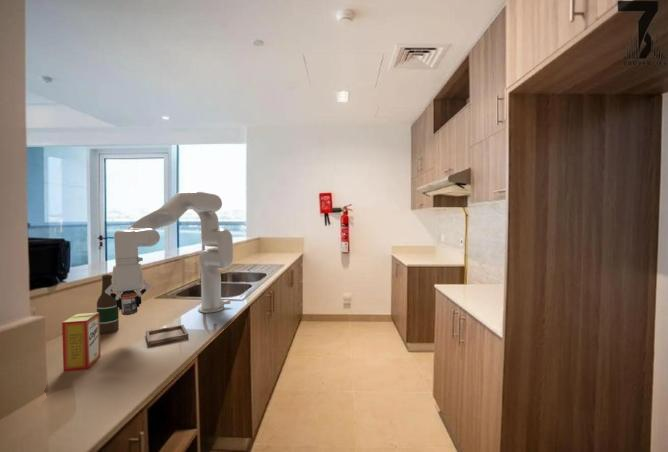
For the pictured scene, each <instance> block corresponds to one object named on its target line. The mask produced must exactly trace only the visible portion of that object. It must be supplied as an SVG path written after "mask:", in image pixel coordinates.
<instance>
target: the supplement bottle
mask: <svg viewBox="0 0 668 452" xmlns="http://www.w3.org/2000/svg"><path fill="white" fill-rule="evenodd" d="M120 298H121V311H120V312H121V315H122V316H131V315H135V314H136V313H138V311H139V310H138V307H137V292H136V290H133V291H125V292H121V294H120Z"/></svg>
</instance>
